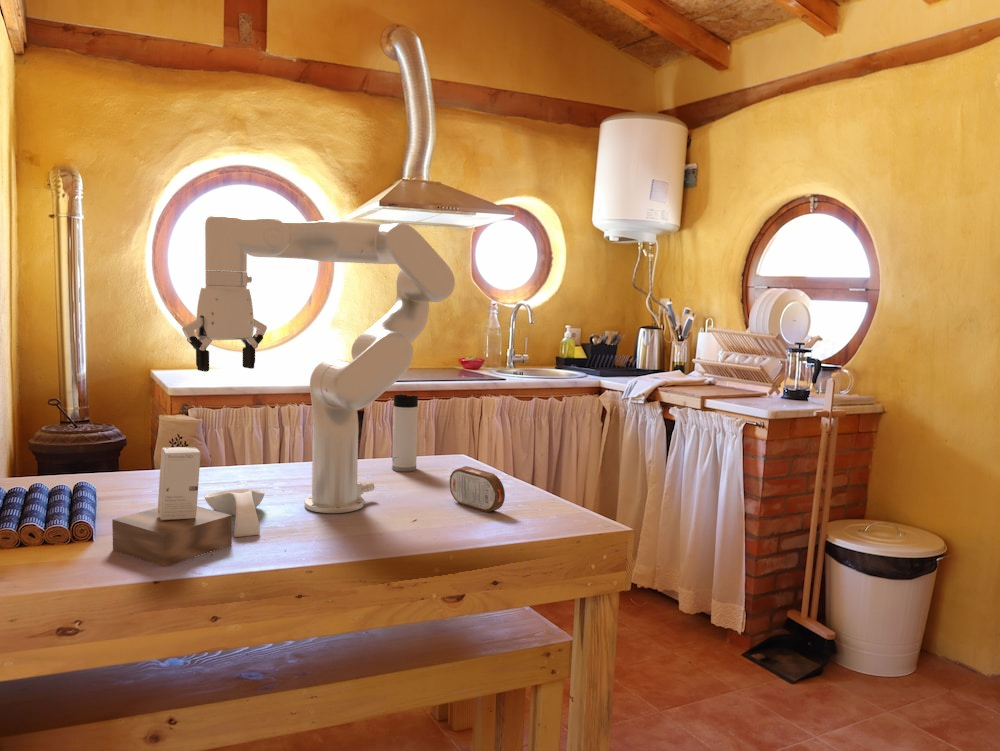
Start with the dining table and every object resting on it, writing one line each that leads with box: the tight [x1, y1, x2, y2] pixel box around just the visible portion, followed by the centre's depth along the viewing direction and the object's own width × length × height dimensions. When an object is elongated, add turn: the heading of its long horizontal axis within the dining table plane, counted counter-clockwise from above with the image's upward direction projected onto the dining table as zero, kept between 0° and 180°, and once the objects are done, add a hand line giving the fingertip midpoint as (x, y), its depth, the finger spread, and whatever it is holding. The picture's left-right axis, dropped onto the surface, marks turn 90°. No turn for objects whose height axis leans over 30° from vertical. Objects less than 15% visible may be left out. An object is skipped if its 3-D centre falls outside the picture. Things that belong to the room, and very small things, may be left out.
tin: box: [449, 465, 506, 513], centre depth 174 cm, size 15×3×8 cm, turn 47°
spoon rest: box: [204, 488, 265, 538], centre depth 159 cm, size 24×12×7 cm, turn 27°
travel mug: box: [391, 394, 419, 473], centre depth 206 cm, size 6×7×20 cm
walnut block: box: [111, 505, 233, 568], centre depth 142 cm, size 14×14×6 cm
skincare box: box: [157, 446, 201, 520], centre depth 141 cm, size 6×4×12 cm
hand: (226, 369), depth 155 cm, fingers open, 9 cm apart
